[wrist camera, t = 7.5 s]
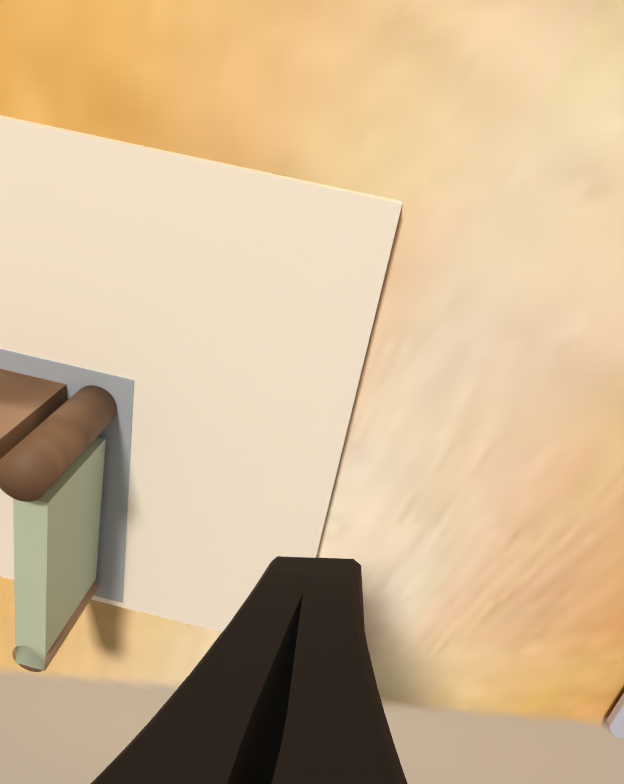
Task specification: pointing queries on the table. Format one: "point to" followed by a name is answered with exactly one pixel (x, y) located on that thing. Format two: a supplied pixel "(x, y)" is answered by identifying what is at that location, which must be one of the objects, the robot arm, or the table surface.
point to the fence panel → (56, 558)
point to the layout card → (190, 350)
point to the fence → (45, 430)
